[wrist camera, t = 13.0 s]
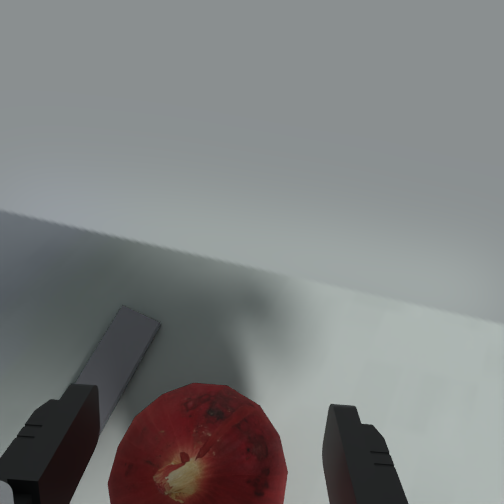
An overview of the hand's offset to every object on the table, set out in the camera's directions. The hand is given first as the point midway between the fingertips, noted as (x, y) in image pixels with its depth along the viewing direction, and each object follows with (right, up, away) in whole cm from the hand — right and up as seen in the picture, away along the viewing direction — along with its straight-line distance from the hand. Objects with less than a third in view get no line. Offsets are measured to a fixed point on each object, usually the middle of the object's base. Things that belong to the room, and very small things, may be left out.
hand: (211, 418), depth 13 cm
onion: (-1, -4, +5) cm, 6 cm away
